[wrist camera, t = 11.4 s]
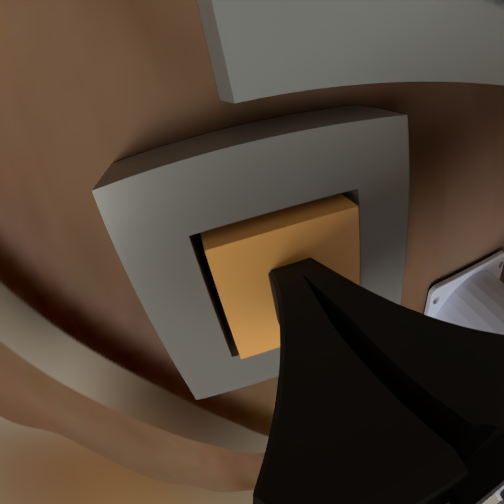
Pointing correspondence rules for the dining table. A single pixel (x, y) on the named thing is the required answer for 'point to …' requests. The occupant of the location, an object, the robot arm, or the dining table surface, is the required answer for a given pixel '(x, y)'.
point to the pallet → (349, 43)
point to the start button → (277, 261)
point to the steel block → (497, 1)
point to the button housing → (247, 206)
